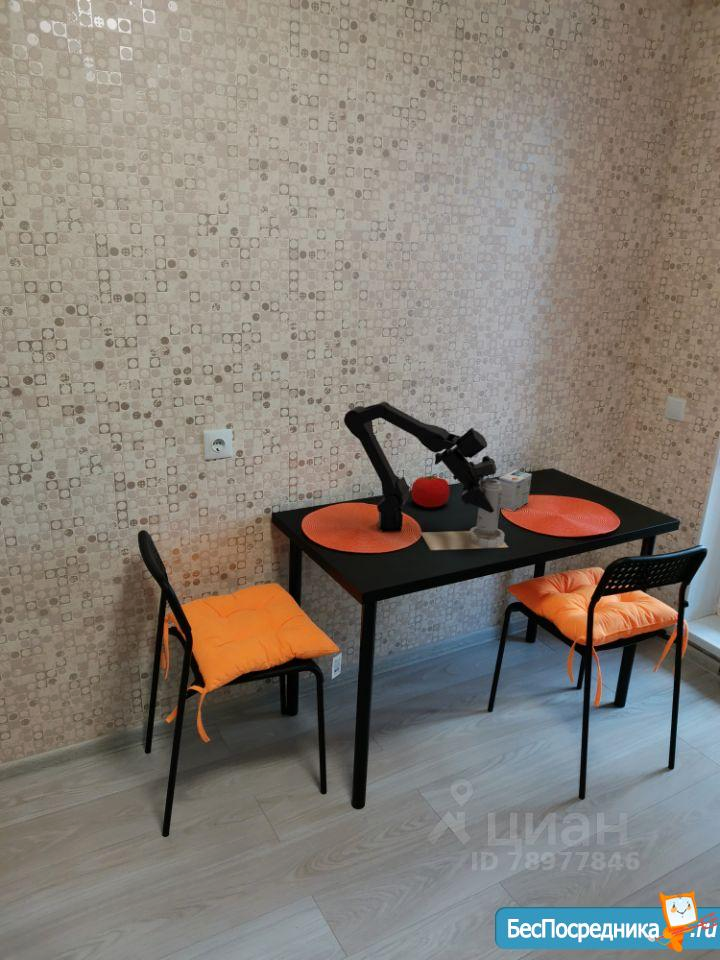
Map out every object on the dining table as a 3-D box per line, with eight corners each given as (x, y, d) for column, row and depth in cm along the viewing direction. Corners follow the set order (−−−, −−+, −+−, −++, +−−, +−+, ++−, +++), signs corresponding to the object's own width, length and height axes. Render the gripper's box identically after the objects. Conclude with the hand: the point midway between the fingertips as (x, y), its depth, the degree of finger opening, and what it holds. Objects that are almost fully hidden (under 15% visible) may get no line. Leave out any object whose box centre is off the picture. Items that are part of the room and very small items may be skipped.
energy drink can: (476, 524, 217) (481, 476, 212) (496, 526, 216) (502, 479, 211) (475, 532, 211) (481, 483, 206) (497, 535, 210) (503, 486, 205)
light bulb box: (510, 498, 251) (514, 468, 247) (528, 503, 247) (532, 473, 243) (495, 507, 243) (498, 476, 240) (513, 512, 239) (517, 481, 236)
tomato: (452, 511, 238) (454, 482, 234) (413, 512, 236) (415, 482, 233) (443, 498, 248) (446, 470, 245) (407, 499, 247) (408, 470, 243)
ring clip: (475, 548, 209) (476, 540, 209) (465, 534, 218) (465, 526, 218) (508, 547, 211) (509, 539, 210) (496, 533, 220) (497, 525, 219)
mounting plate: (430, 553, 207) (430, 550, 207) (420, 536, 219) (420, 532, 218) (508, 550, 211) (508, 547, 211) (494, 533, 222) (494, 530, 222)
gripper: (477, 459, 198) (514, 503, 199) (485, 441, 215) (518, 481, 216) (445, 483, 202) (481, 526, 204) (456, 462, 219) (489, 502, 221)
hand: (493, 507), depth 211 cm, fingers closed on energy drink can, 6 cm apart
